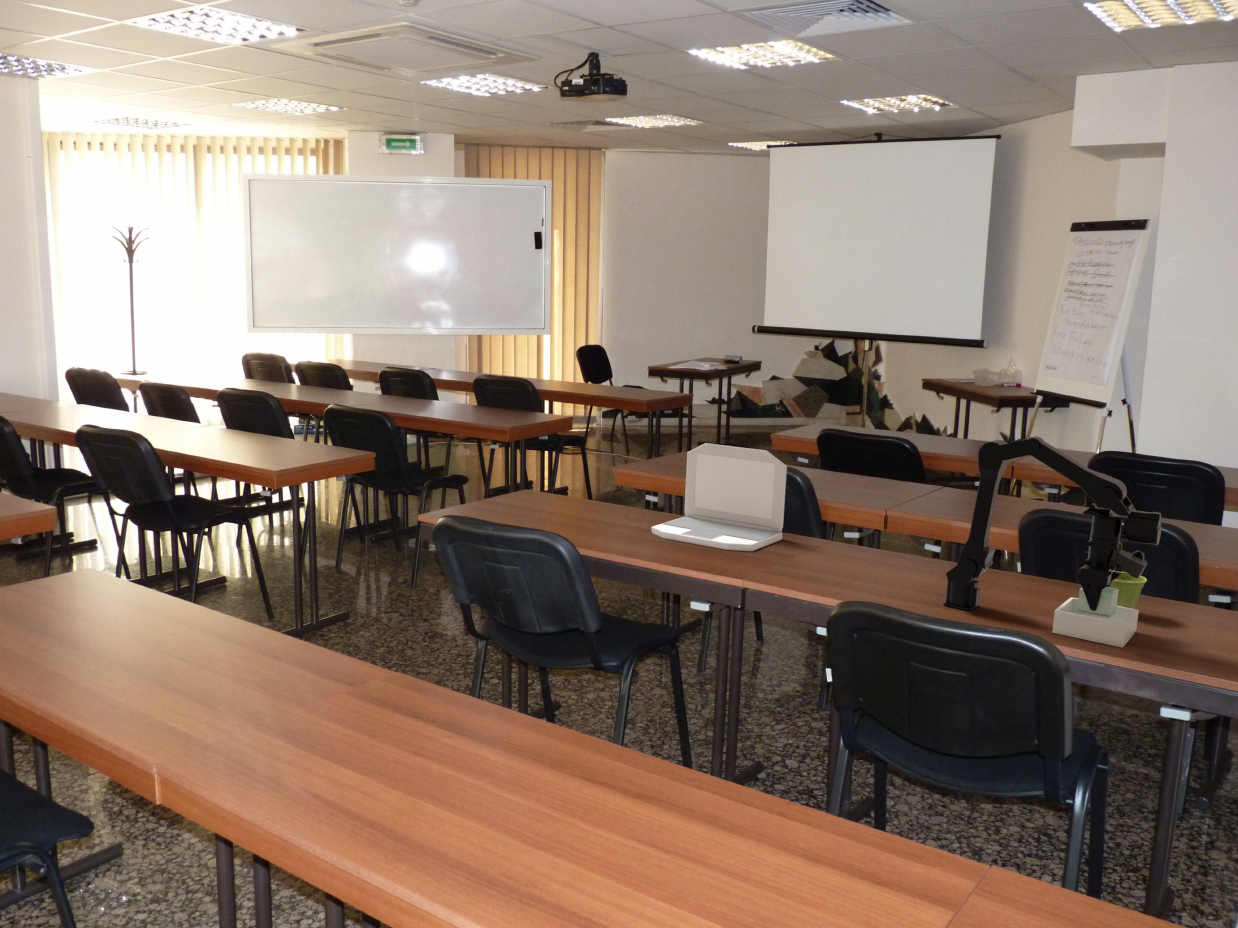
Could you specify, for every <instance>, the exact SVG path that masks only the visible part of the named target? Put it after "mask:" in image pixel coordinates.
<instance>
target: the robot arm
mask: <svg viewBox="0 0 1238 928" xmlns="http://www.w3.org/2000/svg"><path fill="white" fill-rule="evenodd" d="M977 456H978V457H977V461H978V462H977V468H978V473H979V483H978V488H977V493H976V498H975V504H974V508H973V514H972V519H971V525H970V530H969V534H968V538H967V540H966V542H965V543H964V546H963V548H962V550H961V551H960V554H959V557H958V559H957V562H956V565H955V566H954V567H952V568H951V569H949V570H948V571H947V572H946V573H945V576H946V580H947V585H946V597H945V601H944V602H943V604H942V605H943V606H945V607H951V608H956V609H959V610H965V611H972V610H974V609H975V608H977V607H978V606H979V605H980V596H981V588H980V587H979V580H977V579H980V576H981V574H984V572H986V571H987V570H988V569H989V568H990V567H991V566H992V565H993V564H994V561H993V559H994V554H995V552H996V547H994V546H993V547H992V546H990V541H989V537H990V533H991V528H992V527H991V526H992V522H993V518H994V512H995V508H996V507H995V506H996V502H997V496H998V491H999V487H1000V482H1001V480H1002V478H1003V476H1004V474H1005V472H1006V470H1007V469H1008V466H1009V463H1010V461H1011V460H1012V459H1018V458H1023V457H1027V456H1031V457H1033V458H1035V459H1036V460H1038V461H1039V462H1040V463H1042V464H1043V465H1045V466H1047V467H1049V468H1051V469H1052V470H1053V471H1055V472H1057V473H1058V474H1060V475H1061V476H1063V477H1065V478H1066V479H1067V480H1070V481H1071V482H1073V483H1074V484H1076V485H1077V486H1078V487H1079V488H1081V490H1082V491H1083V492H1084V494H1086V496H1087V497H1088V498H1090V499H1091V500H1092V501H1093V502H1094V503H1091V505H1090V506H1089V507H1088V508H1086V509H1085V510H1084V511H1082V514H1083V515H1085V516H1092V518H1091V519H1092V521H1091V529H1090V537H1089V540H1088V541H1087V545H1086V546H1087V547H1088V555H1087V558H1086V559H1085V562H1084V563H1085V564H1084V565H1083V566H1082V567H1080V568H1079V569H1078V570H1076V572H1075V581H1078V582H1079V584H1080V585H1081V588H1083V591H1084V594H1085V596H1086V599H1087V602H1088V605H1089V607H1090V610H1092V611H1096V609H1097V606H1098V603H1099V600H1100V597H1101V594H1102V591H1103V589H1104V588H1105V587H1109V588H1110V585H1111V583H1112V581H1113V580H1114V579H1116V578H1117V577H1119V576H1120V575H1121V574H1122V573H1120V572H1126V573H1128V574H1130V576H1132V577H1134V578H1139V576H1142V575H1143V573H1144V570H1145V569H1146V567H1147V565H1148V561H1147V560H1145V553H1144V552H1142V551H1141V550H1138V549H1137V550H1136V551H1134V552H1133V553H1131V551H1126V550H1123V543H1122V541H1120V540H1121V534H1122V535H1123V536H1124V538H1127V541H1128V542H1134V543H1139V544H1146V545H1147V544H1148V545H1153V546H1158V545H1159V544H1160V541H1161V540H1160V539H1161V535H1162V534H1161V533H1162V513H1161V512H1157V511H1152V512H1150V511H1142V510H1136V508H1135V506H1134V505H1133V503H1132V502H1131V500H1130V499H1129V497H1128V496H1127V494H1128V491H1127V489H1128V488H1127V486H1126V484H1125V483H1124V482H1123V481H1121V480H1120V479H1117V478H1115V477H1113V476H1110V475H1107V474H1106V473H1102V472H1099V471H1097V470H1096V471H1095V470H1093V469H1090V468H1089V467H1087V466H1086V465H1083V463H1080V462H1079V461H1077V460H1076V459H1075V458H1072V457H1071V456H1069V455H1067V454H1065V453H1064V452H1062V451H1061V450H1059V449H1058V448H1056V447H1055V446H1053V445H1051V444H1049V443H1048V442H1046V441H1045V440H1044V439H1043V438H1042V437H1039V436H1038V435H1034V436H1031V437H1028V438H1022V439H1017V440H1012V441H1007V442H1006V441H1005V440H1003V439H994V440H992V441H988V442H985V443H983V444H982V445H981V446H980V447H979V449H978V453H977ZM1098 506H1099V507H1098ZM1123 521H1124V522H1123ZM1122 523H1123V529H1122ZM1121 531H1122V533H1121ZM1116 569H1118V571H1116ZM1115 571H1116V572H1115Z"/></svg>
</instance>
